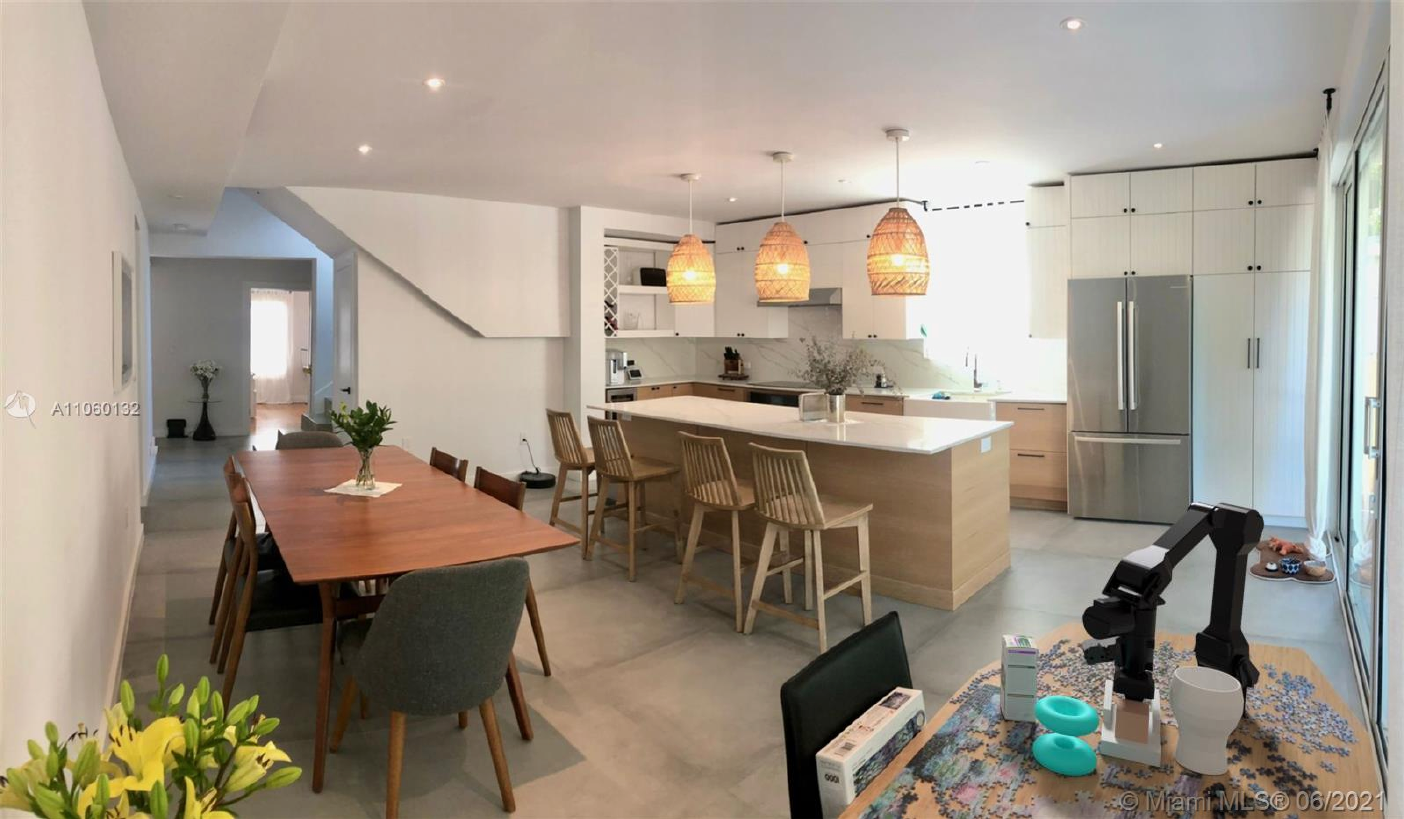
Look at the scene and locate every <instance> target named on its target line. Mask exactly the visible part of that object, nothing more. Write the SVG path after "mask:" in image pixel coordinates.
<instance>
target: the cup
mask: <svg viewBox="0 0 1404 819" xmlns="http://www.w3.org/2000/svg"><path fill="white" fill-rule="evenodd" d="M1168 686H1169V687H1168V699H1169V703H1170V708H1171V712H1172V714H1173V717H1174V719H1175V721H1176V723H1177V731H1178V732H1177V733H1178V739H1177V742H1176V745H1175V750H1174V754H1173V758H1174V759H1175V761H1176V762H1177V763H1178V764H1179V765H1181V766H1182V767H1183V768H1185V769H1187V770H1189V771H1192V772H1195V773H1198V774H1202V775H1208V776H1219V775H1220V776H1221V775H1223V774H1226V773H1227V771H1228V769H1229V768H1228V756H1227V748H1226V747H1227V743H1228V739H1229V736H1230V735H1231V734H1232V733H1233V732H1234V730H1235V729H1236V728H1237V726H1238V724H1239V723H1240V721H1241V718H1242V717H1241V716H1242V713H1243V706H1244V699H1243V693H1242V688H1241V685H1240V682H1239V681H1238V680H1237V679H1235V678H1234V677H1232V676H1230V675H1228V674H1226V673H1224V672H1221V671H1217V670H1214V669H1210V668H1205V667H1198V665H1197V666H1196V665H1195V666H1193V665H1186V666H1180V667H1177V668H1175V669H1174V672H1173V674H1172V677H1171V679H1170V682H1169V685H1168Z"/></svg>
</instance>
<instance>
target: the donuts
mask: <svg viewBox="0 0 1404 819" xmlns="http://www.w3.org/2000/svg"><path fill="white" fill-rule="evenodd" d="M1034 712H1035V716H1036V720H1037V721H1038V722H1039V723H1040V725H1042V726H1043V727H1044V728H1046V729H1048V730H1049V731H1052V733H1044V734H1042V735H1040V736H1039V737H1037V738H1036V739H1035V740H1034V741H1033V743H1032V747H1031V748H1032V754H1033V757H1034V758H1035V760H1036V761H1037V762H1038V763H1039V764H1040V765H1041V766H1043V767H1044V768H1045V769H1048V770H1049V771H1051V772H1054V773H1058V774H1061V775H1065V776H1074V777H1076V776H1077V777H1078V776H1083V775H1084V776H1085V775H1088V774H1090V773H1091V772H1093V771H1094V770H1095V769H1096V767H1097V764H1098V763H1097V762H1098V758H1097V754H1096V752H1095V751H1094V749H1093V748H1092V747H1091V746H1090V744H1088V743H1087V742H1085V741H1084V740H1082V739H1080V738H1079V737H1084V736H1087V735H1091V734H1093V733H1094V732H1095V731H1096V730H1098V728H1099V726H1100V717H1099V714H1098V713H1097V710H1096V709H1094V707H1092V706H1091V705H1090V704H1088V703H1086V702H1085V701H1082V700H1080V699H1077V698H1075V697H1074V698H1073V697H1070V696H1064V695H1048V696H1045V697H1042V698H1040V699H1039V700H1038V701H1036V705H1035V708H1034Z"/></svg>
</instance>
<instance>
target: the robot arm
mask: <svg viewBox="0 0 1404 819" xmlns="http://www.w3.org/2000/svg"><path fill="white" fill-rule="evenodd" d="M1264 528H1265V521H1264V517H1263V515H1261V513H1260V512H1259V511H1258V510H1257V509H1253V508H1251V507H1250V508H1248V507H1244V506H1240V505H1235V504H1231V503H1227V502H1223V501H1222V502H1219V503H1217V504H1215V505H1213V504H1209V503H1206V502H1205V503H1204V502H1202V501H1201V502H1200V501H1197V502H1192V503H1190V504H1189V506H1188V508H1187V509H1186V512H1185V513H1184V514H1183V515H1182V516H1180V518H1178V519H1177V520H1176V521H1175V523H1174V524H1172V525H1171V526H1170V527H1169V528H1168V529H1167V530H1166V531H1165V532H1164V533H1163V534H1162V535H1161V536H1159V537H1158V538H1157V539H1156V540H1155V541H1154V542H1153V543H1152V544H1151V545H1150V546H1148V547H1146V548H1141V549H1138V550H1134V551H1133V552H1130V554H1128V555H1126V556H1125V557H1124V558H1123V557H1122V558H1121V560H1119V562H1118V563H1117V565H1116V567H1115V568H1114V570H1113V571H1112V574H1111V575H1110V577H1109V578H1108V580H1107V582H1106V584H1105V586H1104V587H1103V589H1102V591H1101V594H1102V596H1106V598H1105V597H1103V598H1100V597H1099V598H1098V597H1097V598H1094V599H1093V601H1092V605H1091V606H1088V607H1086V608H1085V610H1084V611H1083V613H1082V617H1081V622H1082V625H1083V628H1084V630H1085V632H1086V634H1088V636H1090V638H1089V639H1084V640H1083V641H1082V644H1081V650H1082V653H1083V659H1084V660H1085V662H1086V664H1087V666H1095V665H1097V664H1105V663H1111V662H1114V664H1113V666H1115V667H1114V672H1113V680H1112V681H1113V685H1112V692H1114V693H1115V694H1119V695H1123V696H1124V699H1127V700H1132V701H1137V702H1142V703H1144V701H1145V700H1148V701H1149V700H1150V701H1151V700H1152V699H1154V693H1155V689H1156V688H1155V686H1156V684H1155V682H1156V681H1155V680H1154V677H1153V673H1152V672H1153V671H1154V656H1155V655H1154V651H1155V648H1156V647H1155V646H1156V645H1155V644H1156V641H1155V640H1156V639H1155V638H1156V629H1157V628H1156V627H1157V626H1156V624H1157V612H1158V606H1163V605H1166V604H1167V602H1166V600H1165V599H1164V598H1162V596H1161V595H1162V594H1163V592H1164V591H1165V590H1166V589H1167V587H1168V586H1169V585H1170V583H1171V582H1172V580H1173V570H1174V569H1175V567H1176V566H1177V565H1178V564H1179V563H1180V562H1181V561H1182V560H1183V559H1184V558H1185V557H1186V556H1187V555H1188V554H1190V552H1192V550H1194V549H1195V547H1196V546H1198V545H1199V544H1200V543H1201V542H1202V540H1204V539H1205V538H1206V537H1207V536H1208V537H1209V539H1210V542H1212V545H1213V546H1214V549H1215V552H1216V553H1215V563H1214V573H1213V574H1214V575H1213V584H1212V585H1213V586H1212V594H1211V595H1212V596H1211V604H1210V605H1211V606H1210V614H1209V615H1210V617H1209V624H1208V625H1207V626H1206V627H1205V628H1204V629H1203V630H1202V631H1200V632H1199V631H1198V632H1196V634H1195V644H1194V647H1193V652H1194V653H1195V654H1194V655H1195V660H1196V664H1197V666H1198V667H1205V668H1210V669H1214V670H1217V671H1221V672H1224V673H1226V674H1228V675H1230V676H1232V677H1234V678H1235V679H1237V680H1238V681H1239V682H1240V685H1241V688H1242V693H1243V699H1244V706H1243V713H1242V716H1241V718H1244V719H1245V718H1247V717H1248V714H1247V710H1246V706H1247V696H1248V695H1247V694H1248V688H1249V689H1250V688H1251V689H1252V688H1254V687H1255V685H1257V684H1258V682H1259V679H1260V677H1261V676H1260V675H1261V672H1260V671H1259V669H1257V667H1256V666H1255V665H1254V663H1253V662H1252V661H1251V659H1250V644H1249V642H1248V640H1247V638H1246V637H1245V635H1244V632H1243V631H1242V618H1243V617H1242V616H1243V608H1244V599H1245V598H1244V597H1245V589H1246V588H1245V587H1246V580H1247V569H1248V568H1247V567H1248V560H1249V558H1248V557H1249V554H1250V553H1251V552H1252V551H1253V550H1254V548H1256V547H1257V545H1259V543H1260V542H1261V538H1262V532H1263V531H1264ZM1120 587H1121V589H1120ZM1123 589H1124V590H1123ZM1125 590H1127V591H1129V592H1127V591H1125ZM1130 592H1132V593H1130ZM1133 593H1134V594H1133Z"/></svg>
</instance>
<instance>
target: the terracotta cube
mask: <svg viewBox="0 0 1404 819" xmlns="http://www.w3.org/2000/svg"><path fill="white" fill-rule="evenodd" d="M1116 705H1117V707H1116V723H1115V737H1117V738H1122V739H1126V740H1131V741H1135V742H1140V743H1144V744H1147V743H1148V728H1149V711H1150V703H1146V702H1137V701H1132V700H1127V699H1125V698H1121V697H1117V698H1116Z"/></svg>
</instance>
